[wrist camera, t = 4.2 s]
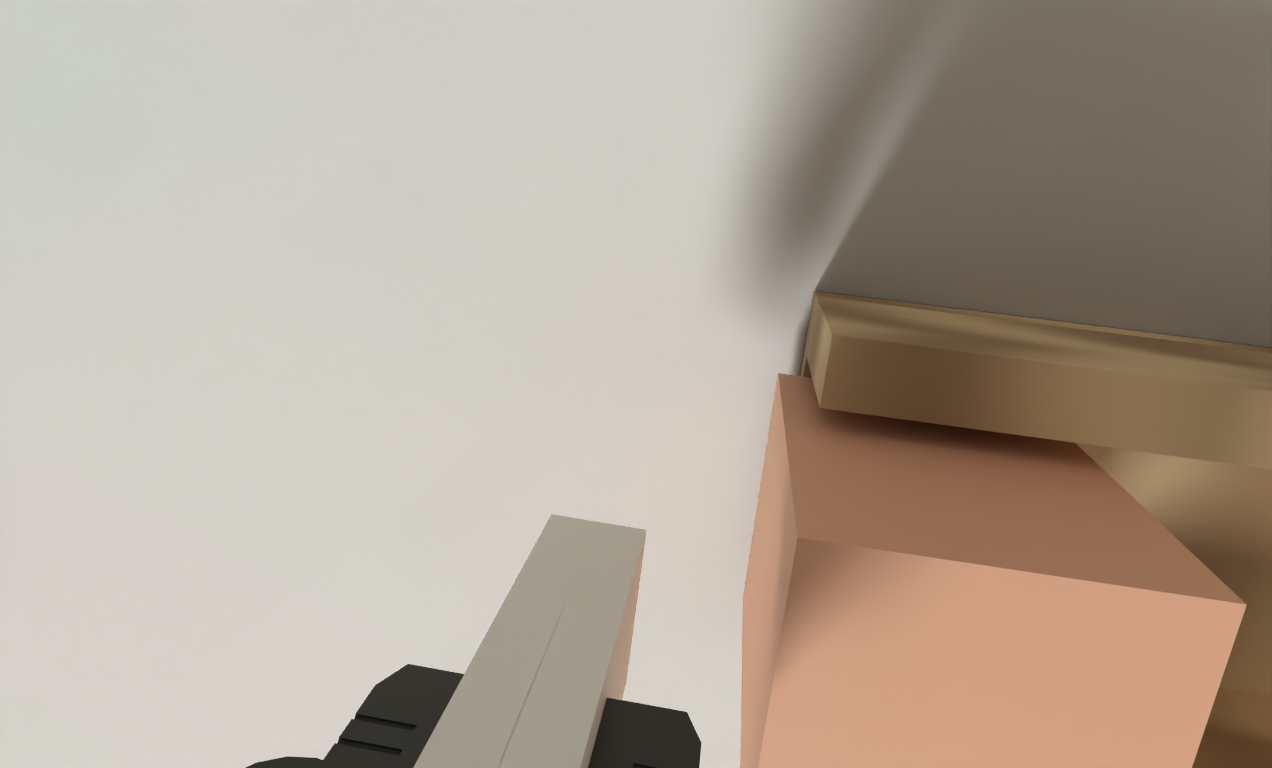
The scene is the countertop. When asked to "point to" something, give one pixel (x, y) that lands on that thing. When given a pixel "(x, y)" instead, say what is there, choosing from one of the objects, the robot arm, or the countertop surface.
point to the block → (966, 604)
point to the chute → (1095, 439)
